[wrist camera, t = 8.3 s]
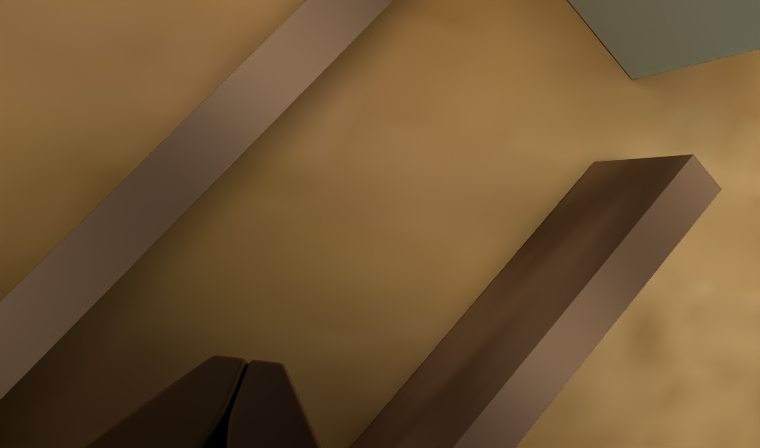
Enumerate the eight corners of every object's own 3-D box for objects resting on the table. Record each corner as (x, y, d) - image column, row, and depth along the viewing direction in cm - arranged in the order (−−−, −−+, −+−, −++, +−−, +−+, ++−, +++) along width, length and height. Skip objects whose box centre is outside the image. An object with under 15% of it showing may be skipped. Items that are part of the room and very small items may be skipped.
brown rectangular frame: (192, 700, 18) (201, 839, 14) (-153, 463, 15) (-256, 553, 11) (619, 190, 21) (721, 189, 17) (391, -74, 18) (451, -143, 15)
